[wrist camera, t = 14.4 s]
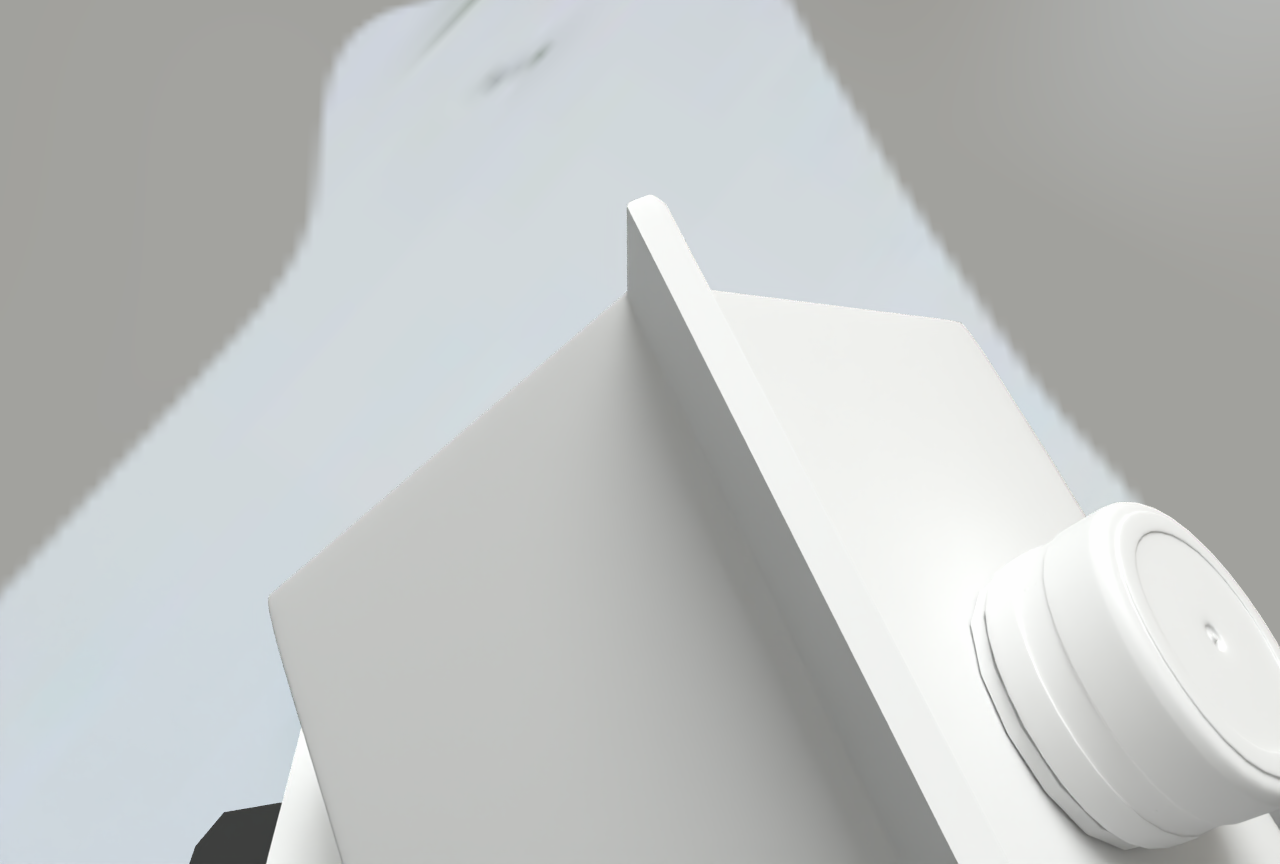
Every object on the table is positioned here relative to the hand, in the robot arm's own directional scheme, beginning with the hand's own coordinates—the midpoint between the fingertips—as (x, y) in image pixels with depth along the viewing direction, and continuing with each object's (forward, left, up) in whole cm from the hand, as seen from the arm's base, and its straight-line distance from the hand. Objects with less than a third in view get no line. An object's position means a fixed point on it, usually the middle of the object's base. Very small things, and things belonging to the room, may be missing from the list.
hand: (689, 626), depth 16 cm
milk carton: (0, -3, -8) cm, 9 cm away
